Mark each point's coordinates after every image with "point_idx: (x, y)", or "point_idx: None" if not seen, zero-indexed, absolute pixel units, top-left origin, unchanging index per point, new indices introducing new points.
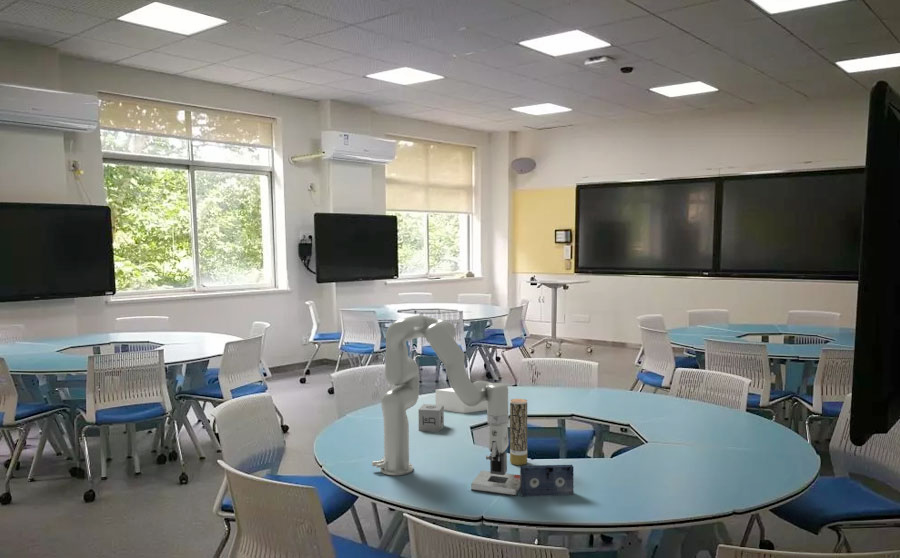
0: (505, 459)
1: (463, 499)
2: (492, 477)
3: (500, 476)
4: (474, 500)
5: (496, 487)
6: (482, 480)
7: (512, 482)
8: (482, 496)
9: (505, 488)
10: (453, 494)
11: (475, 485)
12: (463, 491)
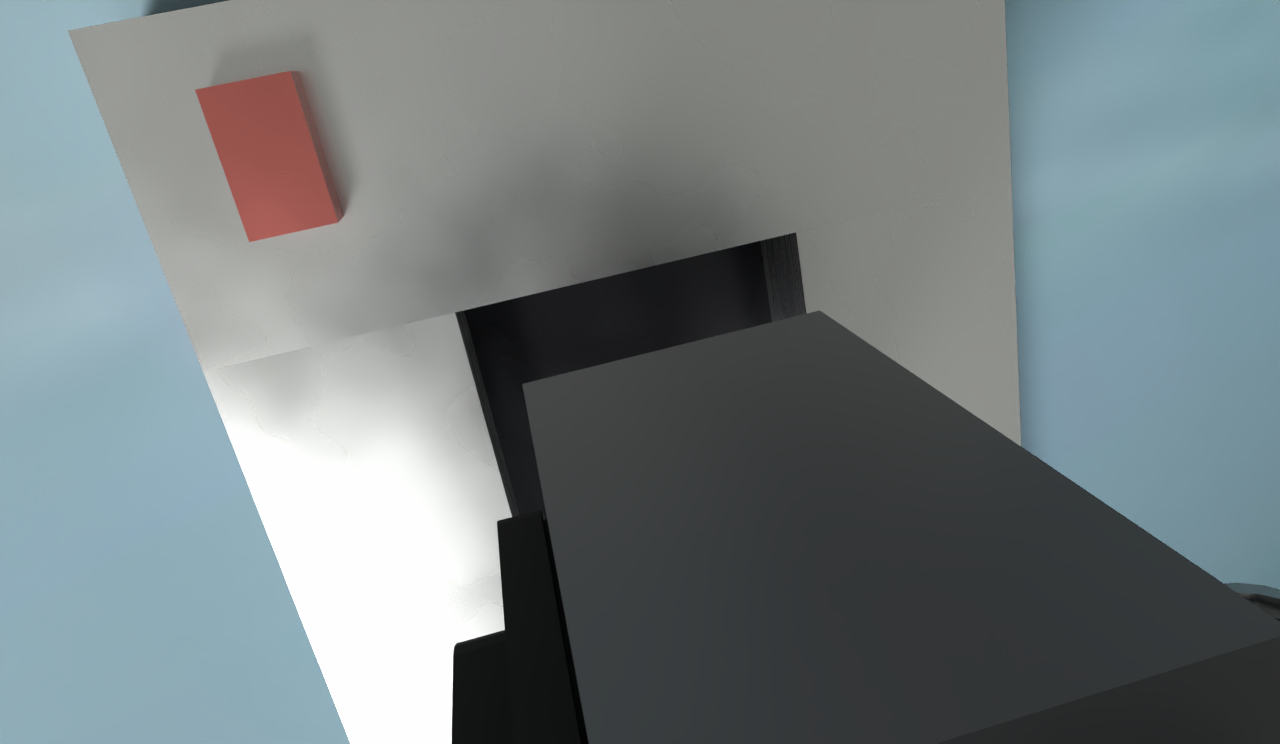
0: (796, 544)
1: (1262, 558)
2: None
3: (483, 495)
4: (1257, 426)
5: (1008, 293)
6: None
7: (665, 103)
8: (1101, 405)
9: (1004, 105)
10: None
11: None
12: None
